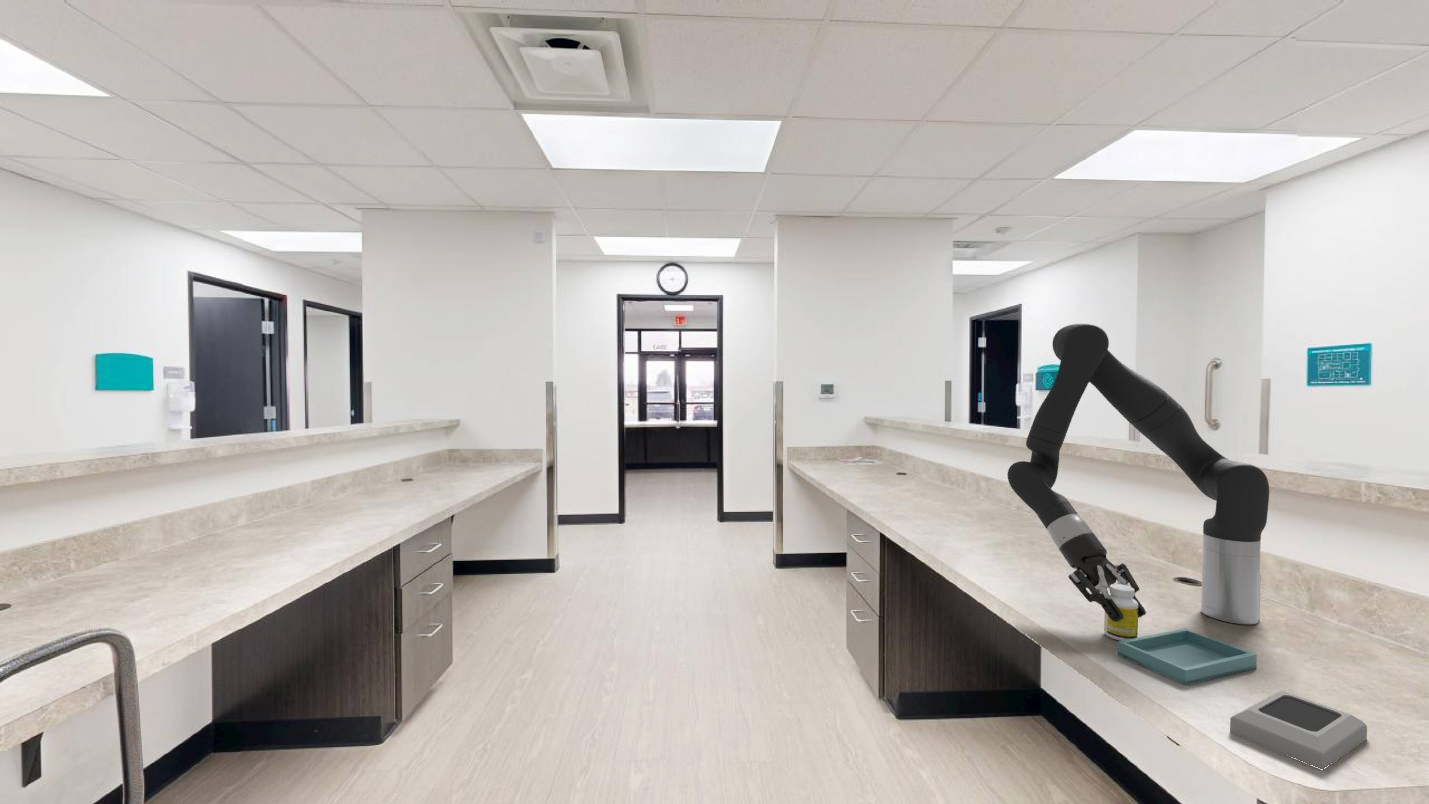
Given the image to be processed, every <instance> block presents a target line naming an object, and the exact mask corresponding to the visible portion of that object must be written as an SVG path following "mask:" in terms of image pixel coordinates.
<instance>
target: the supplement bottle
mask: <svg viewBox="0 0 1429 804" xmlns="http://www.w3.org/2000/svg"><path fill="white" fill-rule="evenodd" d="M1109 593H1110V594H1109V596H1110V598H1109V599H1112V600H1113V602H1114V603H1115V604H1116V606H1117V607H1118V609H1119V610H1120V611H1121V613H1122V614H1123V616H1124V617H1123V619H1121V620H1119V621H1117V622H1114V621H1112V619H1111V618H1110V617H1109V616H1108V615H1107V613H1106V612H1105V611H1104V619H1103V620H1104V621H1103V622H1104V623H1103V627H1104V629H1103V631H1104V634H1105V635H1106V636H1107V637H1108V638H1111V639H1114V640H1116V641H1123V640H1129V639H1134V638H1138V635H1139V634H1138V633H1139V631H1138V630H1139V627H1138V626H1139V618H1138V603H1137V601H1136V600H1134V599H1133V597H1134V595H1135V596H1136V593H1135V594H1134V588H1132V587H1131V585H1128V586H1126V585H1121V584H1117V583H1114V584H1111V585H1110V589H1109Z"/></svg>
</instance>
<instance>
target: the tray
mask: <svg viewBox="0 0 1429 804" xmlns="http://www.w3.org/2000/svg"><path fill="white" fill-rule="evenodd" d="M1117 656H1119V657H1121V658H1123V659H1126V660H1128V661H1130V662H1132V663H1134V664H1137V665H1139V666H1141V665H1142V666H1141V667H1143V666H1144V668H1146V669H1148V670H1150V671H1152V672H1155V673H1158V674H1160V675H1161V676H1163V677H1166V678H1168V679H1171V680H1172V681H1175V682H1177V683H1180V684H1182V685H1184V686H1190V685H1193V684H1197V683H1203V682H1206V681H1211V680H1214V679H1218V678H1223V677H1227V676H1230V675H1235V674H1239V673H1243V672H1247V671H1251V670H1255V669H1257V662H1258V660H1257V659H1258V655H1257V653H1255V652H1251V651H1249V650H1246V649H1244V648H1241V647H1238V646H1236V645H1235V646H1234V645H1232V644H1230V643H1227V642H1224V641H1221V640H1219V639H1216V638H1213V637H1210V636H1207V635H1204V634H1202V633H1199V632H1196V631H1193V630H1191V629H1188V628H1185V627H1184V628H1181V629H1176V630H1175V629H1174V630H1171V631H1170V630H1169V631H1166V632H1165V631H1164V632H1161V633H1154V634H1150V635H1144V636H1139V637H1137V638H1134V639H1129V640H1123V641H1120V640H1117Z"/></svg>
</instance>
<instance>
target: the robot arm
mask: <svg viewBox="0 0 1429 804" xmlns="http://www.w3.org/2000/svg"><path fill="white" fill-rule="evenodd" d="M1109 341H1110V340H1109V337H1108V334H1107V332H1106V331H1105V330H1104V329H1103V328H1102V327H1101V326H1099V325H1097V324H1093V323H1092V324H1091V323H1076V324H1075V323H1073V324H1069V325H1066V326H1063V327H1062V328H1060V329H1058V331H1057V332H1056V333H1055V334H1054V336H1053V339H1052V345H1051V346H1052V350H1053V353H1054V355H1055V356H1056V358H1058V360H1059V361H1060V362H1059V365H1058V371H1057V374H1056V376H1055V380H1054V382H1053V384H1052V386H1051V388H1050V390H1049V392H1048V394H1047V395H1046V397H1045V398H1044V400H1043V401H1042V403H1041V405H1040V406H1039V408H1038V410H1037V412H1036V414H1035V416H1034V418H1033V422H1032V424H1031V427H1030V430H1029V432H1028V435H1027V438H1026V441H1025V446H1026V447H1027V448H1028V450H1030V451H1031V455H1030V456H1031V457H1030V461H1022V460H1020V461H1016V462H1014V463H1012V464H1011V465H1010V466H1009V468H1008V470H1007V480H1008V484H1009V486H1010V488H1011V489H1012V490H1013V492H1014V493H1015V494H1016V495H1017V496H1018V497H1019V498H1020V499H1021V500H1022V502H1024V503H1025V504H1026V506H1028V507H1029V508H1030V509H1031V510H1032V511H1033V512H1034V513H1035V514H1036V515H1037V517H1038V519H1039V520H1040V522H1041V523H1042V525H1043V526H1044V528H1045V529H1046V530H1047V533H1048V534H1049V536H1050V538H1051V540H1052V541H1053V543H1054V544H1055V545H1056V547H1057V549H1058V550H1059V552H1060V553H1061V554H1062V556H1063V557H1064V559H1065V560H1066V562H1067V563H1068V564H1069V566H1070V568H1072V569H1075V570H1074V571H1073V572H1072V573H1070V574H1069V575H1068V579H1069V580H1070V581H1071V582H1072V584H1073V585H1074V586H1075V587H1076V588H1077V590H1079V592H1080V593H1081V595H1083V596H1084V598H1086V600H1087V601H1088V602H1089V603H1093V602H1096V603H1097V604H1098V605H1100V606H1101V608H1102V609H1103V610H1104V613H1105V612H1106V613H1107V615H1108V616H1109V617H1110V618H1111V619H1112V621H1114V622H1117V621H1119V620H1121V619H1123V617H1124V616H1123V614H1122V613H1121V611H1120V610H1119V609H1118V607H1117V606H1116V604H1115V603H1114V602H1113V600H1112V599H1109V598H1110V596H1109V595H1110V594H1109V592H1108V590H1110V585H1111V584H1121V585H1126V586H1130V587H1132V588H1134V594H1135V595H1134V597H1133V599H1134V600H1136V601H1137V603H1138V619H1139V618H1142V617H1143V616H1146V614H1147V611H1146V609H1145V607H1144V606H1143V605H1142V603H1141V602H1140V601H1139V599H1138V598H1137V597H1136V593H1137V592H1139V591H1140V590H1141V589H1140V586H1139V585H1138V583H1137V582H1136V580H1135V578H1134V577H1133V575H1132V574H1131V571H1130V570H1129V568H1128V566H1127V565H1126V564H1125V563H1120V564H1118V565H1116V564H1113V562H1111V561H1110V560H1109V559H1108V558H1107V554H1108V551H1107V549H1106V548H1105V545H1103V544H1102V543H1101V541H1100V539H1099V538H1098V537H1097V535H1096V534H1095V533H1094V531H1093V530H1092V529H1091V527H1090V526H1089V525H1088V523H1087V522H1086V521H1085V520H1084V519H1083V518H1082V517H1081V516H1080V514H1079V513H1078V512H1077V510H1075V507H1073V505H1072V504H1071V503H1070V501H1069V500H1068V499H1067V498H1066V497H1065V496H1064V495H1063V494H1061V493H1058V492H1056V491H1055V490H1054V489H1052V488H1053V486H1054V485H1055V483H1056V480H1057V478H1058V474H1059V473H1058V472H1059V463H1060V451H1061V449H1062V446H1063V443H1064V441H1065V439H1066V436H1067V434H1068V430H1069V428H1070V425H1071V422H1072V420H1073V417H1074V415H1075V412H1076V410H1077V408H1078V406H1079V404H1080V401H1081V398H1082V396H1083V395H1084V393H1085V391H1086V389H1087V387H1088V385H1089V384H1090V383H1091V385H1092V386H1093V387H1095V389H1096V390H1097V391H1099V393H1100V394H1101V395H1102V396H1103V398H1104V399H1105V400H1106V401H1108V403H1109V404H1110V405H1111V406H1112V407H1113V408H1114V409H1115V410H1116V411H1117V412H1118V413H1119V414H1120V415H1121V416H1122V417H1123V418H1124V419H1125V420H1126V421H1127V422H1128V423H1129V424H1131V425H1132V427H1134V429H1136V430H1137V431H1138V432H1139V433H1140V434H1142V435H1143V437H1145V438H1147V440H1149V441H1150V442H1151V443H1152V444H1153V445H1154V446H1155V447H1156V448H1158V449H1159V450H1160V451H1162V452H1163V453H1164V454H1165V455H1166V456H1167V457H1169V458H1170V459H1171V460H1172V461H1173V462H1174V463H1175V464H1176V465H1177V466H1178V467H1179V468H1180V469H1181V471H1183V473H1184V474H1185V475H1186V476H1187V477H1188V478H1189V480H1190V481H1191V482H1192V483H1193V484H1194V485H1195V487H1196V489H1198V490H1199V491H1200V492H1201V493H1202V494H1203V495H1205V496H1206V497H1208V498H1209V499H1211V500H1214V501H1216V503H1215V510H1214V515H1213V516H1212V517H1210V518H1206V519H1205V520H1204V521H1203V524H1202V527H1203V528H1202V565H1201V567H1202V569H1201V570H1202V571H1201V597H1200V598H1201V599H1200V600H1201V601H1200V610H1201V611H1200V612H1201V613H1202V614H1203V615H1206V616H1208V617H1209V618H1213V619H1215V620H1219V621H1223V622H1226V623H1231V624H1232V623H1233V624H1238V625H1256V624H1258V623H1259V619H1261V587H1262V586H1261V585H1262V583H1261V582H1262V576H1261V575H1262V574H1261V540H1262V533H1263V531H1264V529H1265V527H1266V526H1267V523H1268V522H1267V521H1268V511H1269V500H1270V485H1269V481H1268V477H1267V475H1266V474H1265V472H1264V471H1263V470H1262V469H1261V468H1259V467H1258V466H1255V465H1253V464H1251V463H1246V462H1242V461H1236V460H1232V459H1231V460H1230V459H1229V458H1227V457H1225V456H1223V455H1222V454H1221V453H1219V452H1218V451H1217V450H1216V449H1214V447H1212V446H1211V445H1209V444H1208V443H1207V442H1206V441H1205V440H1204V439H1203V438H1202V437H1201V436H1200V434H1199V433H1198V431H1197V429H1196V427H1195V425H1194V423H1193V421H1192V419H1191V417H1190V415H1189V414H1188V413H1187V411H1186V410H1185V409H1184V407H1183V406H1182V405H1181V404H1180V403H1179V402H1177V400H1175V398H1174V397H1172V396H1171V395H1170V394H1169V393H1167V391H1165V390H1164V389H1162V388H1161V387H1160V386H1159V385H1158V384H1156V383H1155V382H1153V381H1151V380H1150V379H1149V378H1146V377H1145V376H1144V375H1142V374H1140V373H1138V372H1136V371H1135V370H1133V369H1131V368H1130V367H1129V366H1127V365H1126V364H1124V363H1122V362H1121V361H1120V360H1119V359H1118V358H1117V357H1116V356H1115V355H1114V354H1113V353H1111V351H1110V350H1109V346H1110V342H1109ZM1128 584H1129V585H1128ZM1087 589H1088V590H1087Z"/></svg>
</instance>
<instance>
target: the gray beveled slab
mask: <svg viewBox="0 0 1429 804" xmlns="http://www.w3.org/2000/svg"><path fill="white" fill-rule="evenodd" d="M1229 721H1230V724H1229V732H1230V733H1231V734H1234V735H1235V736H1238V737H1239V738H1243V739H1245V740H1248V741H1250V742H1253V744H1254V743H1255V744H1256V745H1259V746H1262V747H1264V748H1267V749H1269V750H1271V751H1274V752H1276V753H1278V754H1281V755H1283V756H1285V755H1288V756H1290V757H1293V758H1296V759H1298V760H1300V761H1303V762H1305V763H1307V764H1309V765H1313V766H1315V767H1318V768H1320V769H1324V768H1325V767H1327V766H1328V765H1330V764H1331V763H1333V762H1335V761H1336V760H1337V759H1338V758H1340V757H1341V756H1343V755H1344V754H1346V753H1347V752H1348V753H1350V752H1351V751H1352V750H1354V749H1355V748H1356V747H1355V746H1357V745H1358V746H1359V745H1361V744H1362V743H1363V742H1365V741H1366V740H1367V738H1368V737H1367V736H1368V726H1367V724H1366V723H1365V722H1363V720H1361V719H1359V718H1358V717H1356V716H1354V715H1353V714H1350V713H1348V712H1345V711H1342V710H1338V709H1337V708H1333V707H1330V706H1327V705H1325V704H1322V703H1319V702H1316V701H1313V700H1310V699H1307V698H1305V697H1303V696H1299V695H1296V694H1294V693H1290V692H1287V691H1285V690H1281V691H1279V692H1276V693H1273V694H1272V695H1270V696H1268V697H1266V698H1264V699H1263V700H1261V701H1258V702H1257V703H1254V705H1251V706H1249V707H1247V708H1245V709H1243V710H1242V711H1240V712H1238V713H1236V714H1235V715H1232V716H1231V717H1230V720H1229ZM1365 739H1366V740H1365ZM1364 740H1365V741H1364ZM1360 743H1361V744H1360ZM1358 746H1357V747H1358ZM1354 747H1355V748H1354ZM1353 748H1354V749H1353ZM1350 750H1351V751H1350ZM1349 751H1350V752H1349ZM1348 753H1347V754H1348ZM1347 754H1346V755H1347ZM1344 756H1345V755H1344ZM1344 756H1343V757H1344ZM1290 757H1289V758H1290ZM1341 758H1342V757H1341ZM1341 758H1340V759H1341ZM1337 761H1338V760H1337ZM1337 761H1336V762H1337ZM1336 762H1335V763H1336ZM1333 764H1334V763H1333ZM1309 765H1308V766H1309Z"/></svg>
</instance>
